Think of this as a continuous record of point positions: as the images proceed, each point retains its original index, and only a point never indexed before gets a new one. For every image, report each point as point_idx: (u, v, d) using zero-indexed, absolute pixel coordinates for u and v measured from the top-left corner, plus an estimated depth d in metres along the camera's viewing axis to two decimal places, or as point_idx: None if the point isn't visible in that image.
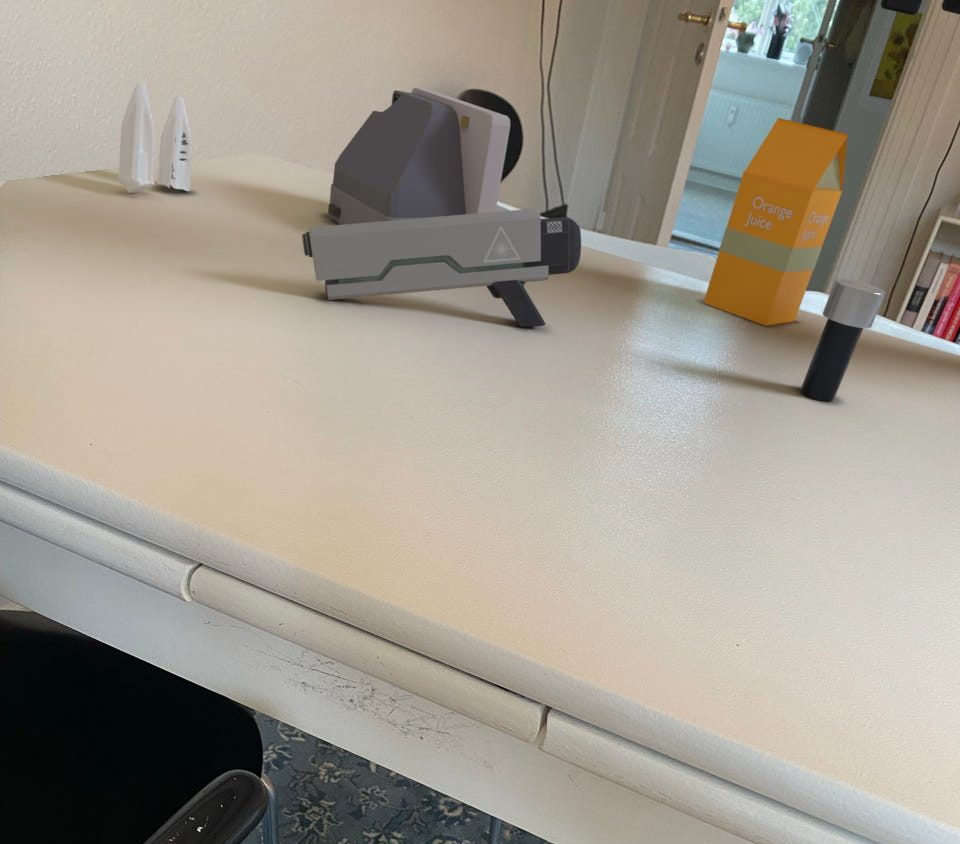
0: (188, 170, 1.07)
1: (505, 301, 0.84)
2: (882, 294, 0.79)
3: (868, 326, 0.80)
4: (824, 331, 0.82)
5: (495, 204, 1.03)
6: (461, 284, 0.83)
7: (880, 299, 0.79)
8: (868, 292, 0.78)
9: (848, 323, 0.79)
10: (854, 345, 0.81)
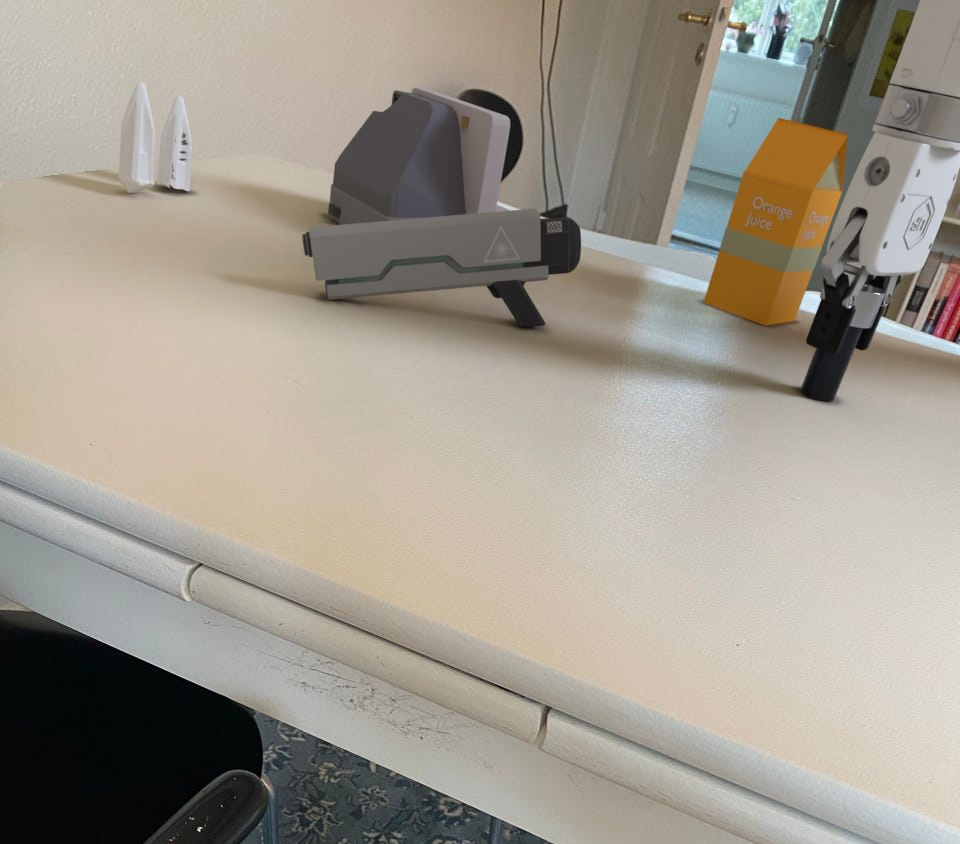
0: (188, 170, 1.07)
1: (505, 301, 0.84)
2: (882, 294, 0.79)
3: (868, 326, 0.80)
4: None
5: (495, 204, 1.03)
6: (461, 284, 0.83)
7: (880, 299, 0.79)
8: (868, 292, 0.78)
9: None
10: (854, 345, 0.81)
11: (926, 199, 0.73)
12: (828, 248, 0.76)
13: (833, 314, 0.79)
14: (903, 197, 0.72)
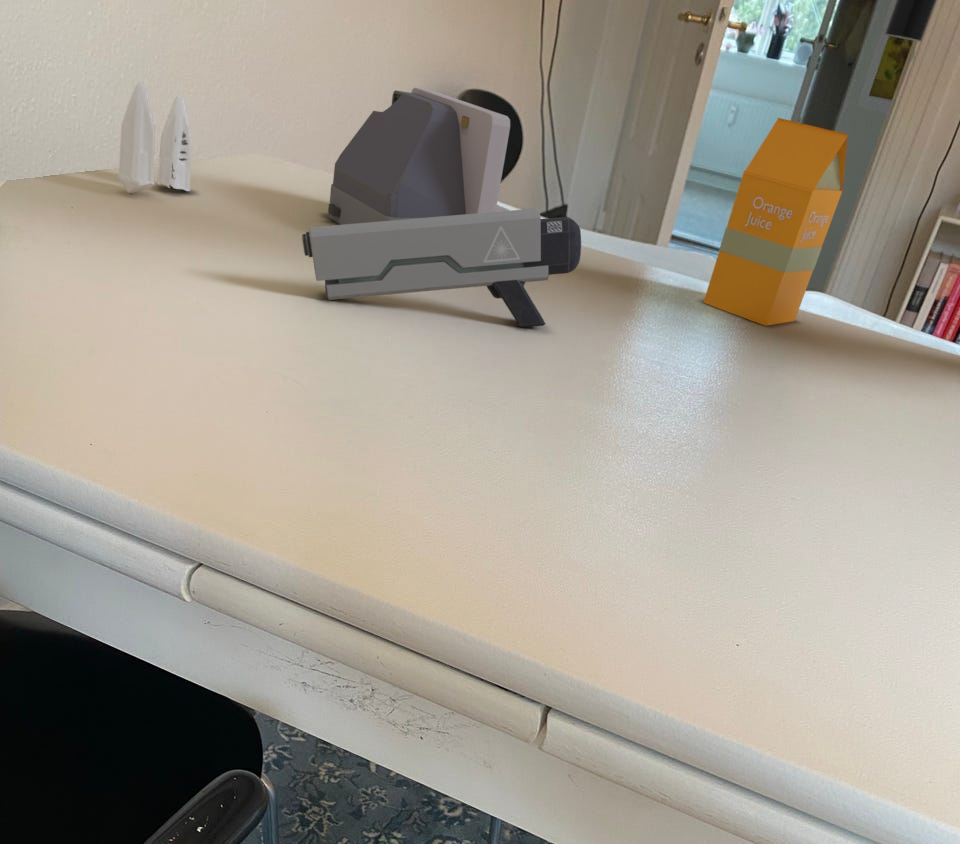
0: (188, 170, 1.07)
1: (505, 301, 0.84)
2: None
3: None
4: None
5: (495, 204, 1.03)
6: (461, 284, 0.83)
7: None
8: None
9: None
10: None
11: None
12: None
13: None
14: None
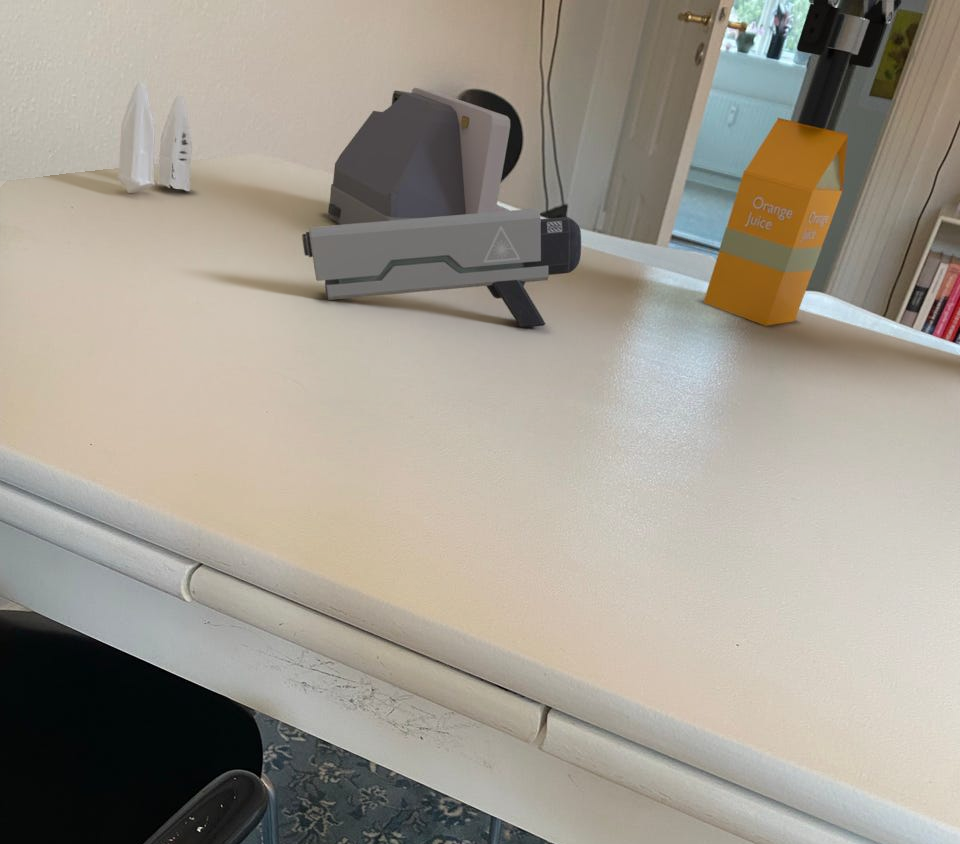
0: (188, 170, 1.07)
1: (505, 301, 0.84)
2: (867, 20, 0.92)
3: (855, 51, 0.93)
4: (817, 61, 0.95)
5: (495, 204, 1.03)
6: (461, 284, 0.83)
7: (865, 24, 0.92)
8: (855, 16, 0.91)
9: (838, 47, 0.93)
10: (843, 72, 0.95)
11: None
12: None
13: (820, 14, 0.90)
14: None
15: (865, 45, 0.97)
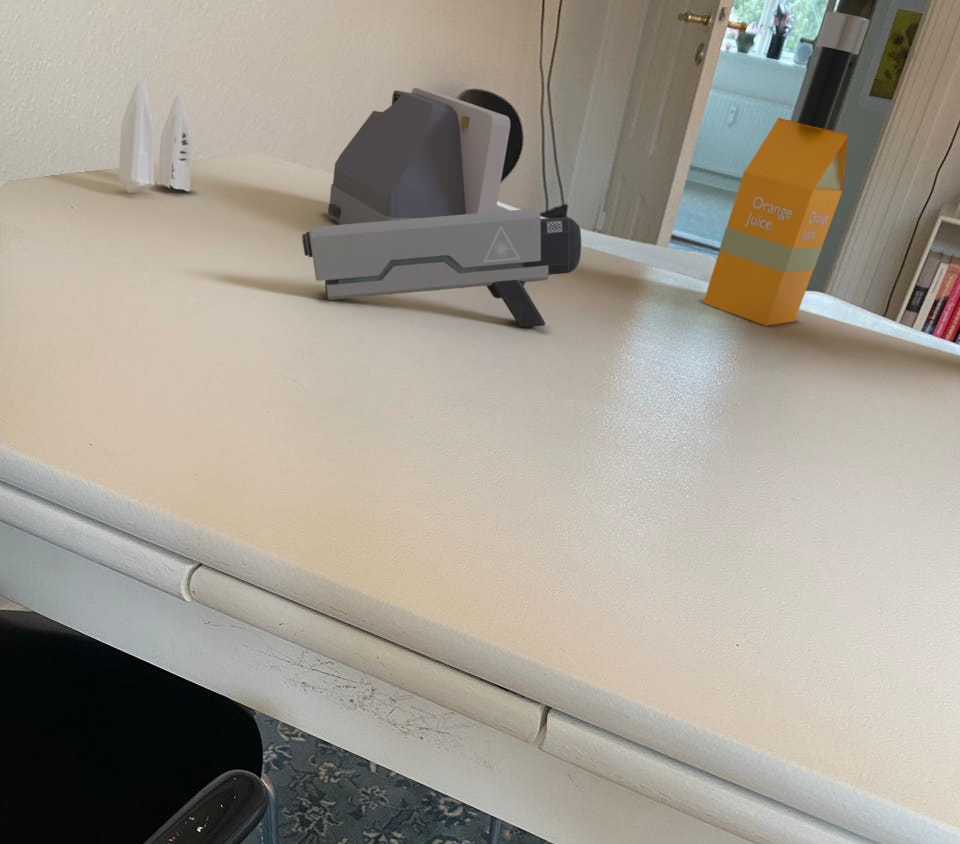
0: (188, 170, 1.07)
1: (505, 301, 0.84)
2: (867, 20, 0.92)
3: (855, 51, 0.93)
4: (817, 61, 0.95)
5: (495, 204, 1.03)
6: (461, 284, 0.83)
7: (865, 24, 0.92)
8: (855, 16, 0.91)
9: (838, 47, 0.93)
10: (843, 72, 0.95)
11: None
12: None
13: None
14: None
15: None
